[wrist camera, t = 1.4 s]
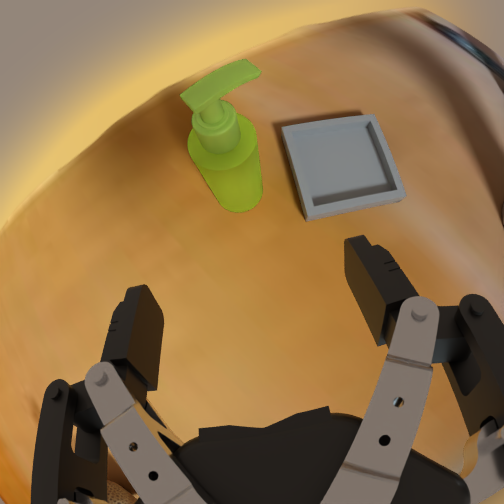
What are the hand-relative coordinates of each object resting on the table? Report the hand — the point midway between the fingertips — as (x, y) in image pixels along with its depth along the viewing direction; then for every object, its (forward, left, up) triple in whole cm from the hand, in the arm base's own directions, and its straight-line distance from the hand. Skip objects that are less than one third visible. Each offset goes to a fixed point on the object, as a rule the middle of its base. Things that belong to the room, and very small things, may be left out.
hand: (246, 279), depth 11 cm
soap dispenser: (0, -13, -23) cm, 27 cm away
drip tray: (-13, -13, -23) cm, 29 cm away
